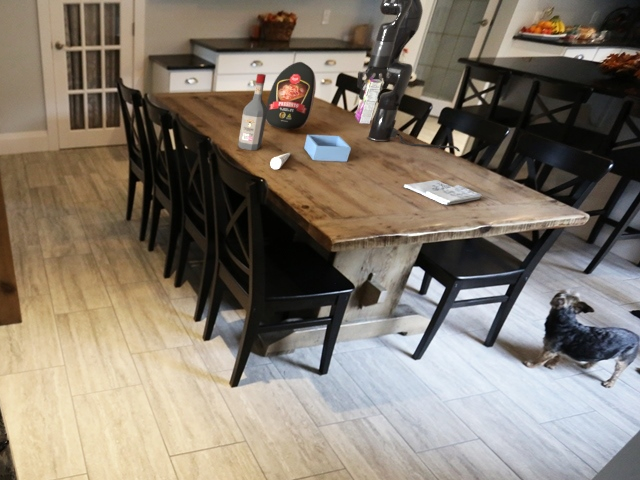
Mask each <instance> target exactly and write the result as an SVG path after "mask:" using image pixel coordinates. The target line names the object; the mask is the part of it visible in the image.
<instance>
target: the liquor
mask: <svg viewBox="0 0 640 480" xmlns="http://www.w3.org/2000/svg"><path fill="white" fill-rule="evenodd" d="M266 76H267V74H265V73H257V75H256V80H255V87H254V94H253V96H252V99H251V100H250V101H249V103H247V104H246V105H245V106H244V108H243V111H242V118H241V125H240V129H239V130H240V131H239V137H238V142H237V143H238V144H237V145H238V148H240V149H241V150H246V151H257V150H259V149H260V148H261V147H262V143H263V137H264V132H265V126H266V122H267V121H266V116H267V104H266V103H265V102H264V101H263V93H264V92H263V91H264V85H265V82H266Z"/></svg>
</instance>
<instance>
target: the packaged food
mask: <svg viewBox="0 0 640 480" xmlns="http://www.w3.org/2000/svg"><path fill="white" fill-rule="evenodd" d="M316 89H317V81H316V75H315V72H314V70H313V69H312V68H311V67H310V66H309V65H308V64H306V63H305V62H303V61H297V62H294V63H291V64H289V65H288V66H287V67H285V68H284V69H283V70H282V71H281V72H280V73H279V74H278V76H276V78H275V79H274V82H273V83H272V86H271V89H270V92H269V95H268V99H267V102H266V107H267V116H266V121H265V122H266V123H267V124H268V125H269V126H270V127H274V128H277V129H281V130H285V131H290V130H300V129H302V128H304V127H305V126H306V125H307V123H308V121H309V120H310V116H311V113H312V111H313V106H314V102H315V96H316Z"/></svg>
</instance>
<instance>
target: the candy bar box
mask: <svg viewBox="0 0 640 480" xmlns="http://www.w3.org/2000/svg"><path fill="white" fill-rule="evenodd" d="M366 78H367V77H366V76H365V79H366ZM367 81H368V80H367ZM383 84H384V82H383V80H382V81H381V80H379V79H372V80H369V82H368V84H367V87H366V89H365V90H366V91H365V94H364V98H363V100H360V99H359V101H358V104H357V108H356V113H355V115H354V118H355V120H357V122H358V124H362V125H371V124H372V120H373V117H374V114H375V113H374V112H375V109H376V107H377V102H378V96H379V92H380V89H381V86H382V85H383Z"/></svg>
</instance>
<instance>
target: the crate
mask: <svg viewBox="0 0 640 480" xmlns="http://www.w3.org/2000/svg"><path fill="white" fill-rule="evenodd" d="M303 149H304V150H305V151H306V154H308V156H309V157H310V158H311V159H312V161H321V162H343V163H344V162H348V159H349V155H350V153H351V149H352V147H351V146H350V145H349V144H348V143H347V142H346V141H345V140H344V139H343V138H342V136H340V135H326V134H325V135H324V134H306V138H305V142H304V148H303Z"/></svg>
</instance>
